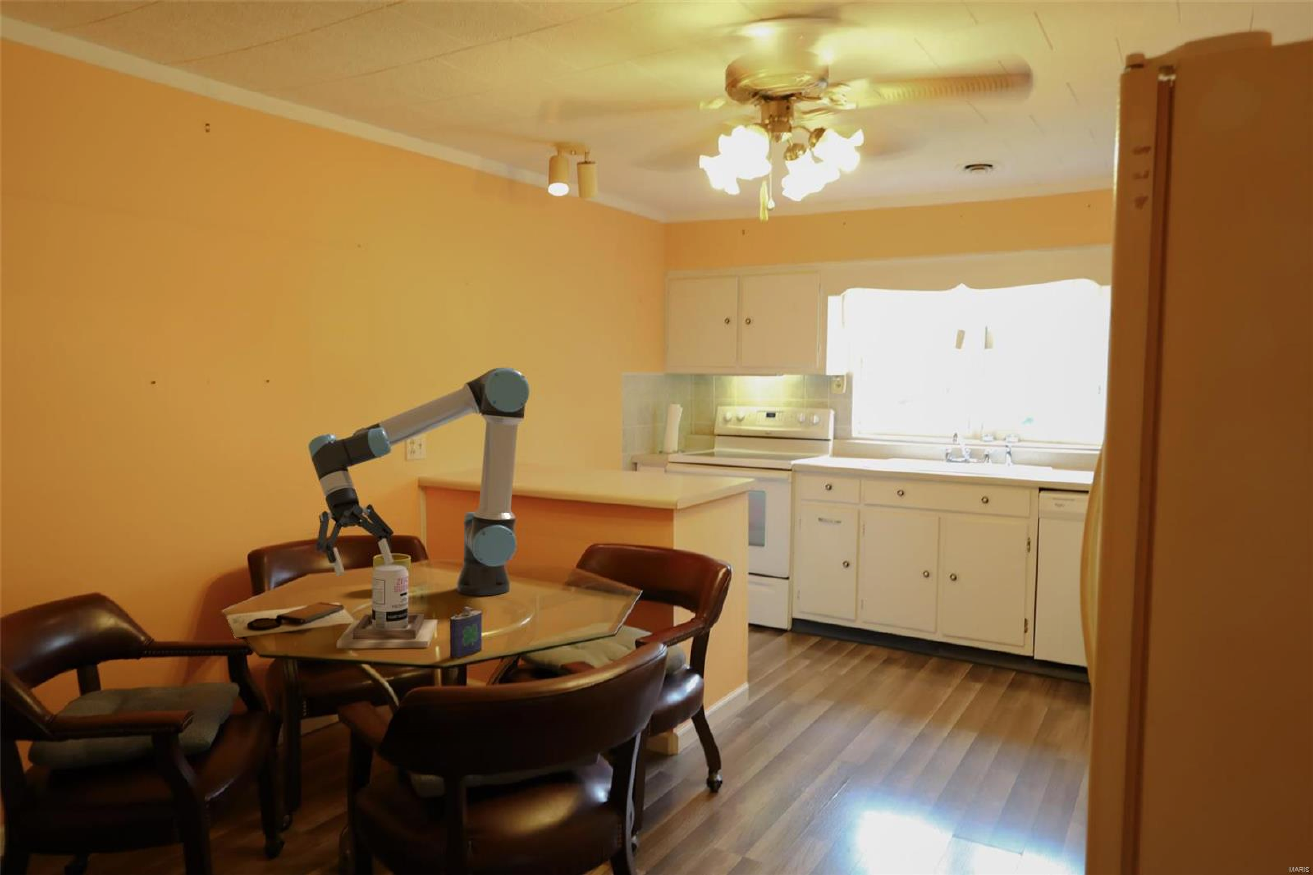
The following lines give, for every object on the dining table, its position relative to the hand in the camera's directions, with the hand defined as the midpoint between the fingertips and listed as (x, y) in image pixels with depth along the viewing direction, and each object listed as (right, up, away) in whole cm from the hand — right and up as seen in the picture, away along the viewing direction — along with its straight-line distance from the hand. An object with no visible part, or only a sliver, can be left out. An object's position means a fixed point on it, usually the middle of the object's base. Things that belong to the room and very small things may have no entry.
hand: (366, 569), depth 217 cm
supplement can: (+9, -13, -11) cm, 19 cm away
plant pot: (-4, -11, +34) cm, 36 cm away
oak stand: (+9, -14, -11) cm, 20 cm away
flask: (+30, -16, -22) cm, 40 cm away
